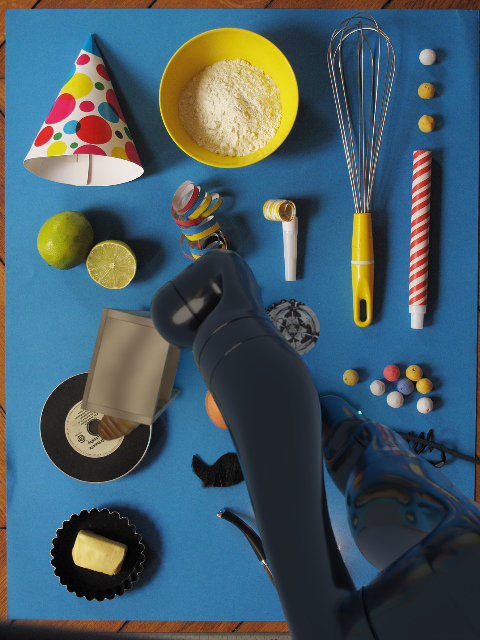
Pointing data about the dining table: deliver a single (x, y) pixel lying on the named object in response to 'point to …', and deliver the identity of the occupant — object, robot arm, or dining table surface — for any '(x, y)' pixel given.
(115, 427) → the pastry
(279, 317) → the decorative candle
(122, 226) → the dining table surface
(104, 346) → the shelf
